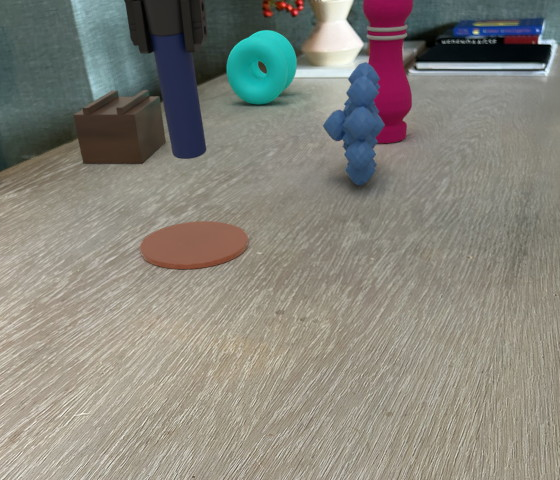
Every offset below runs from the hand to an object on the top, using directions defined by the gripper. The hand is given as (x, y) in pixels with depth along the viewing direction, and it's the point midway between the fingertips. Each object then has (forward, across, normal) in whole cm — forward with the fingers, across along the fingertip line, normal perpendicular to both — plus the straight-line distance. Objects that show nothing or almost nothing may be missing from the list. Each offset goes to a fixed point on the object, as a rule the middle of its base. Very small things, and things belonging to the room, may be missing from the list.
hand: (170, 50), depth 53 cm
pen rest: (+17, +18, -30) cm, 39 cm away
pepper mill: (+17, -16, -37) cm, 44 cm away
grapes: (+17, -13, -20) cm, 29 cm away
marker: (+2, 0, -1) cm, 2 cm away
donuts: (+17, +5, -61) cm, 63 cm away
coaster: (+17, 0, 0) cm, 17 cm away
